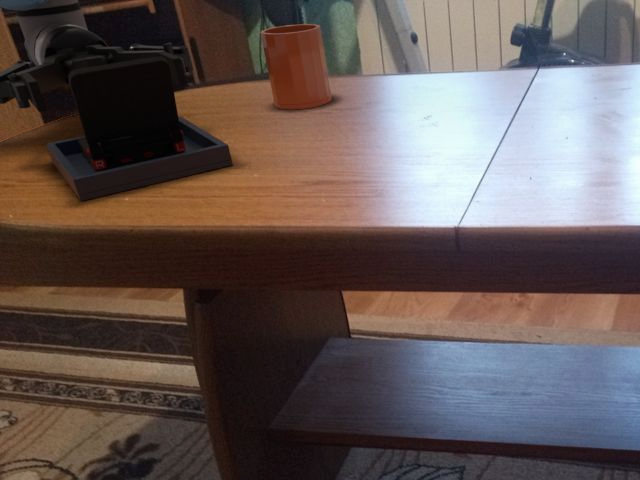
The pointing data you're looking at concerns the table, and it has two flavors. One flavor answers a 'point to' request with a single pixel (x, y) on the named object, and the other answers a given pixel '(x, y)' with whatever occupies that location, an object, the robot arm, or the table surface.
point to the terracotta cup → (296, 66)
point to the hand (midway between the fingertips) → (112, 83)
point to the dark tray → (139, 164)
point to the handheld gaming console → (126, 112)
